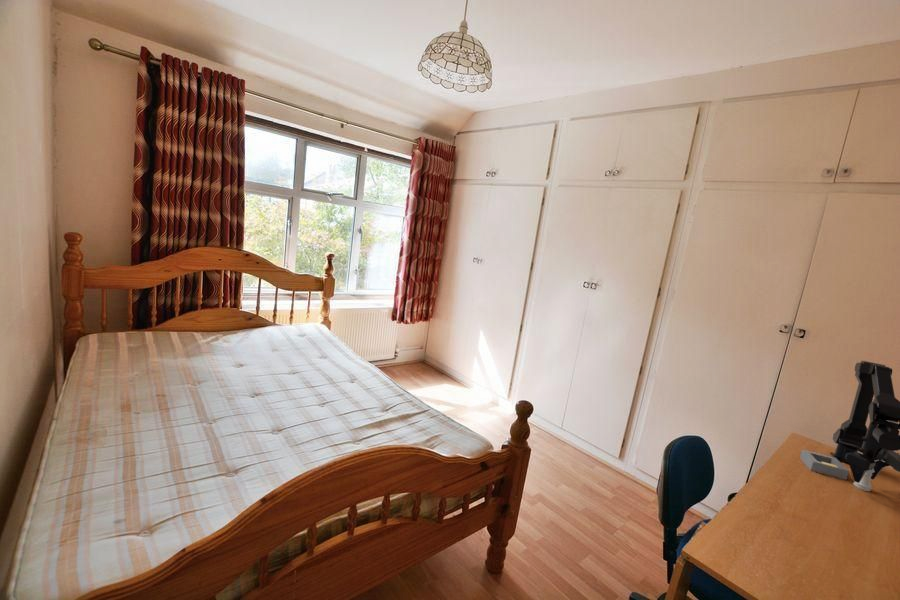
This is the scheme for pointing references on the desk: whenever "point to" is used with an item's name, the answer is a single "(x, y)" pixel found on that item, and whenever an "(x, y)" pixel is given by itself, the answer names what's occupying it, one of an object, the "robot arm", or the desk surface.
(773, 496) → the desk surface
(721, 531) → the desk surface
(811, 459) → the grey square tray
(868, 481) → the rook chess piece
